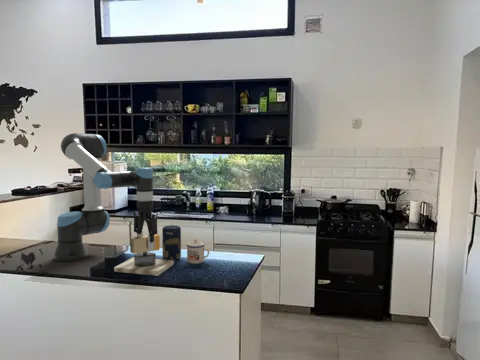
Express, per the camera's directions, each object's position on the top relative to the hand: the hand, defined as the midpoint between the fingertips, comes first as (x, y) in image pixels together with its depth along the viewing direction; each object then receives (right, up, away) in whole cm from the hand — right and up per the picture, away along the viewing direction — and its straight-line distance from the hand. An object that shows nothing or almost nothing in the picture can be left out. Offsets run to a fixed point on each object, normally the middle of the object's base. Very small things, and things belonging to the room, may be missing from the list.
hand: (145, 247), depth 182 cm
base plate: (0, -10, +1) cm, 10 cm away
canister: (+10, -9, +17) cm, 21 cm away
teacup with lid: (+24, -9, +12) cm, 28 cm away
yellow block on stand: (0, -7, 0) cm, 7 cm away
